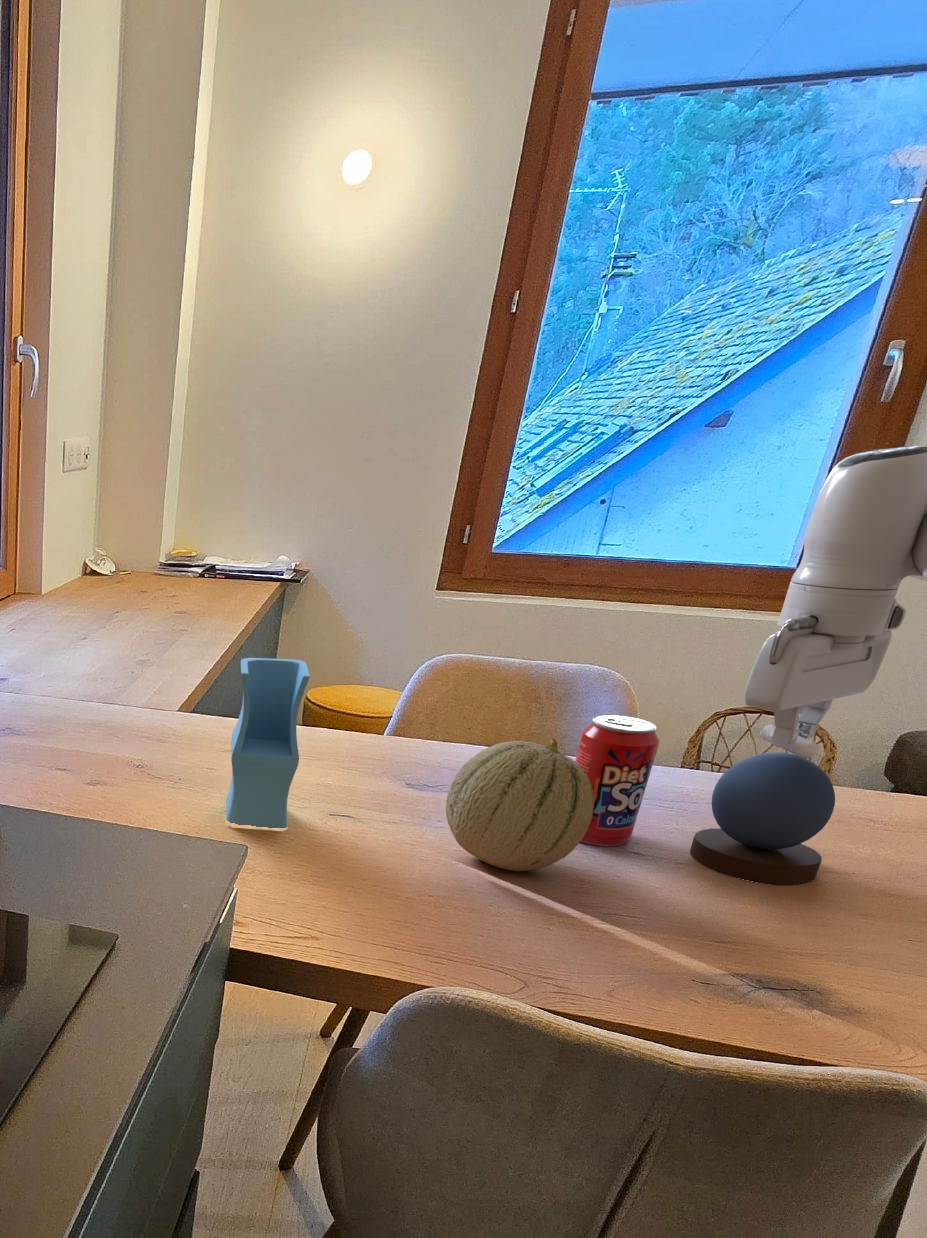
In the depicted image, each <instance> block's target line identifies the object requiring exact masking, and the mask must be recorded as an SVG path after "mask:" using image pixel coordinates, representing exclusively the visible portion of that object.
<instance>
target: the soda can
mask: <svg viewBox="0 0 927 1238" xmlns="http://www.w3.org/2000/svg"><path fill="white" fill-rule="evenodd" d="M656 730H657V725H656V724H655V723H653V722H651V721H649V720H647V719H644V718H639V717H636V716H630V715H621V714H600V715H596V716H594V717H592V722H591V723H590V724H589V725H587V726H586V727H585V728H584V729H583V731H582V733H581V737H580V740H579V744H578V748H577V751H576V755H575V759H574V761H575V762H576V763H577V764H578V765H579V766H580V767H581V768H582V769H583V771H584V772H585V773H586V775H587V777H588V779H589V781H590V783H591V786H592V790H593V795H594V809H593V816H592V819H591V822H590V824H589V826H588V830H587V831H586V833H585V834H584V836H583V839H582V840H581V841H580V842H579V843H582V844H586V845H591V846H597V847H617V846H621V845H624V844H626V843H628V842H629V841H630V840H631V837H632V834H633V831H634V828H635V826H636V822H637V819H638V815H639V812H640V808H641V806H642V802H643V798H644V795H645V791H646V789H647V786H648V781H649V778H650V776H651V772H652V768H653V765H654V761H655V759H656V755H657V751H658V748H659V745H660V740H659V737H658V734H657V732H656Z"/></svg>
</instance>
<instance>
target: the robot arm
mask: <svg viewBox="0 0 927 1238" xmlns="http://www.w3.org/2000/svg"><path fill="white" fill-rule="evenodd" d="M906 577H911V578H913V579H917V580H921V581H925V582H927V446H923V445H907V446H905V445H904V446H899V447H885V448H878V449H871V450H867V451H862V452H858V453H855V454H852V455H849V456H847V457H845V458H843V459H842V460H841V461H839V462H838V463H836V465H835V466H834V467H833V468H832V470H831V471H830V472H829V474H828V476H827V478H826V480H825V481H824V484H823V485H822V488H821V489H820V492H819V494H818V497H817V499H816V501H815V504H814V507H813V510H812V512H811V515H810V518H809V521H808V524H807V527H806V530H805V534H804V537H803V555H802V559H801V561H800V563H799V565H798V567H797V569H796V570H795V572H794V573H793V575H792V577H791V579H790V581H789V582H790V583H789V585H788V588H787V592H786V595H785V599H784V602H783V605H782V609H781V610H780V615H779V618H778V621H777V626H778V627H780V628H781V629H779V630H777V631H776V632H775V633H774V634H772V635H770V636H769V637H767V638H766V640H765V641H764V643H762V646H761V648H760V650H759V652H758V654H757V657H756V658H755V661H754V664H753V666H752V669H751V672H750V674H749V678H748V680H747V683H746V685H745V687H744V688H745V689H744V691H743V702H744V705H745V706H747V707H751V708H756V709H761V710H767V711H773V718H774V725H775V729H774V733H773V736H772V741H774V742H776V743H780V744H790V743H794V742H795V741H797V736H800V737H803V738H805V739H807V740H810V739H813V738H814V737H815V735H816V732H817V728H818V726H819V724H820V723H821V721H822V720H823V718H825V716H826V714H827V713H828V711H829V710H830V709H831V707H832V703H833V700H836V699H841V698H845V697H849V696H855V695H858V694H863V693H865V692H866V691H867V690H868V689H869V687H870V686H871V685H872V684H873V682H874V680H875V679H876V677H877V675H878V673H879V670H880V667H881V665H882V664H883V661H884V659H885V656H886V654H887V652H888V649H889V646H890V643H891V640H892V637H893V636H892V635H893V634H892V633H893V632H892V630H893V631H894V630H898V629H899V628H901V627H902V625H903V622H904V619H905V617H906V613H907V610H906V608H905V607H904V606H902V605H901V604H900V603H899V602H898V601H897V599H896V595H897V593H898V591H899V587H900V584H901V582H902V581H903V579H905V578H906Z"/></svg>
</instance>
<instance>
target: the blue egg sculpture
mask: <svg viewBox="0 0 927 1238" xmlns="http://www.w3.org/2000/svg"><path fill="white" fill-rule="evenodd" d="M835 792H836V791H835V789H834V785H833V783H832V781H831V778H830V776H829V775H828V774H827V773H826V771H824V769H823V768H822V767H820V766H819V765H817V764H816V763H815V762H813V761H811V760H810V759H809V758H808V759H805V758H801V757H800V756H798V755H796V754H793V753H790V752H777V751H775V752H773V751H772V752H764V753H758V754H755V755H751V756H748V757H746V758H744V759H741V760H740V761H737V762H736V763H734V764H733V765H732V766H730V767H729V768H728V769H727V770H726V771H725V772H723V774H722V775H721V776H720V778H719V779H718V781H717V782H716V784H715V786H714V788H713V791H712V795H711V811H712V815H713V817H714V820H715V822H716V823H717V825H718V827H719V828H718V827H717V828H708V829H707V828H706V829H701V830H699V831H697V832H696V833H695V834H694V836H693V838H692V843H691V845H690V849H689V854H690V856H691V857H692V858H693V860H695V861H696V862H697V863H698V864H700V865H702V866H704V867H705V868H707V869H709V870H711V871H714V872H717V873H719V874H722V875H724V876H728V877H730V878H734V877H735V878H734V879H737V878H740V879H739V880H741V879H744V880H743V881H745V880H749V881H748V882H750V881H753V882H752V883H755V882H758V883H757V884H761V883H763V884H762V885H768V884H770V885H771V886H782V887H783V886H785V887H791V886H792V887H794V885H795V886H802V885H801V884H803V885H807V884H809V883H808V882H810V883H812V882H813V881H814V880H815V879H816V877H817V874H818V872H819V869H820V866H821V863H822V860H823V858H822V855H821V854H820V853H819V852H818V851H816V850H815V849H813V848H812V847H810V846H807V845H805V844H803V843H805V842H807V841H809V840H810V839H812V838H813V837H815V836H816V835H817V834H818V833H820V832H821V831H822V830H823V829H824V828H825V827H826V825H827V824H828V822H829V820H830V819H831V817H832V815H833V813H834V809H835V805H836V793H835ZM812 880H813V881H812ZM811 881H812V882H811ZM806 883H807V884H806ZM770 885H769V886H770Z"/></svg>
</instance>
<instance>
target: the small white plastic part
mask: <svg viewBox="0 0 927 1238" xmlns="http://www.w3.org/2000/svg"><path fill="white" fill-rule="evenodd" d="M774 729H775V724H774V725H773V724H767V725H765V726H764V727H763V729H761V732H760V734H759V737H761V738H762V740H763V741H766V742H768V743H770V744H772V745H773V746H774V747H776V748H781V749H782V750H785V751H787V752H788V753H790V754H794V755H798V756H800V757H801V758H805V759H808V760H809V759H811V758H813V757H815V756H816V755H817V756H819V757H821V755H820V754H818V752H819V745H818V744H817V743H816V742H814V741H811V740H810V739H805V738H803V737H800V736H797V741H795V742H794V743H790V744H780V743H776V742H774V741H772V736H773V733H774Z"/></svg>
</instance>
